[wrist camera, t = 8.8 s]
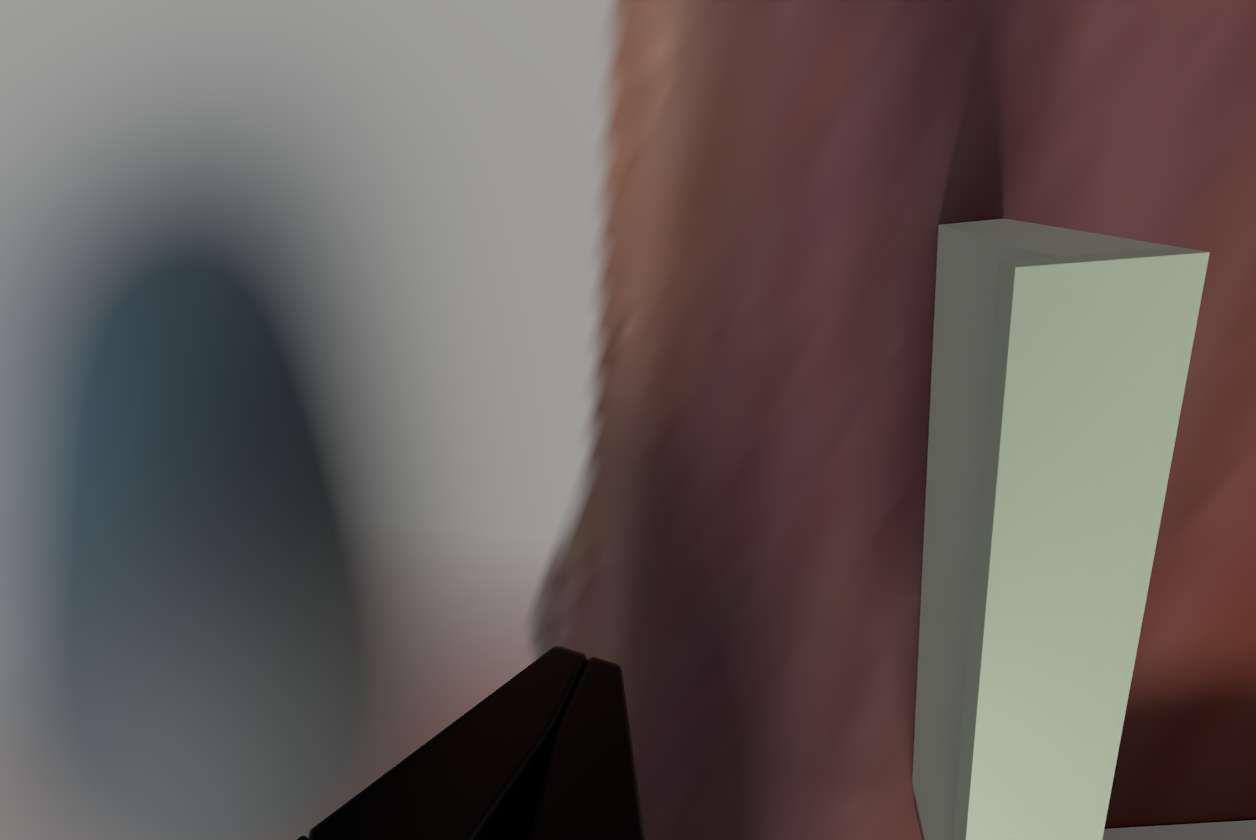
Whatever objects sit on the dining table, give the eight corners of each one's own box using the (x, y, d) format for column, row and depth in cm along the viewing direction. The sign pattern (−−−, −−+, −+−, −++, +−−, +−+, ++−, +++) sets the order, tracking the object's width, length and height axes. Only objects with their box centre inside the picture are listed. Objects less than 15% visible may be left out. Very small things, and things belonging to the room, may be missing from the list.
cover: (959, 787, 18) (1053, 1106, 11) (888, 781, 18) (944, 1084, 12) (1004, 218, 13) (1209, 252, 7) (906, 228, 13) (1015, 267, 7)
